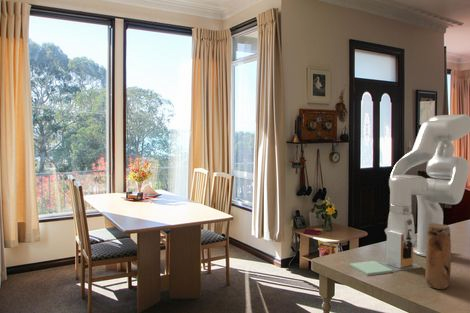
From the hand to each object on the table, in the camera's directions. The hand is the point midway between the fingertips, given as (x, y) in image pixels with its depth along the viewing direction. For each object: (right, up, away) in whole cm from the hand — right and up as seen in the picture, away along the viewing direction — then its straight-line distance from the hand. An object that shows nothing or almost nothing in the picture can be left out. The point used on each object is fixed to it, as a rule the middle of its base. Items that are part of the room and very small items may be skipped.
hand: (399, 254), depth 150 cm
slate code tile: (0, -4, 0) cm, 4 cm away
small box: (0, -4, 0) cm, 4 cm away
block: (+4, -5, -19) cm, 21 cm away
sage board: (-12, -4, -4) cm, 14 cm away
